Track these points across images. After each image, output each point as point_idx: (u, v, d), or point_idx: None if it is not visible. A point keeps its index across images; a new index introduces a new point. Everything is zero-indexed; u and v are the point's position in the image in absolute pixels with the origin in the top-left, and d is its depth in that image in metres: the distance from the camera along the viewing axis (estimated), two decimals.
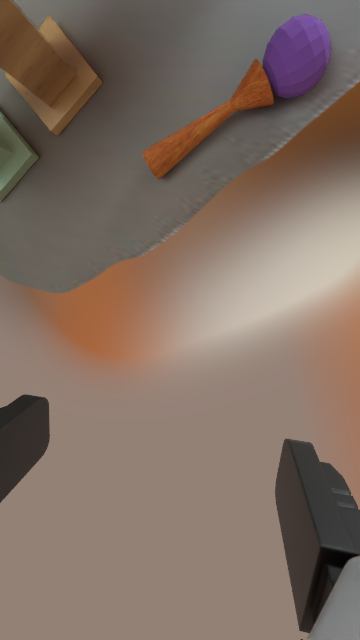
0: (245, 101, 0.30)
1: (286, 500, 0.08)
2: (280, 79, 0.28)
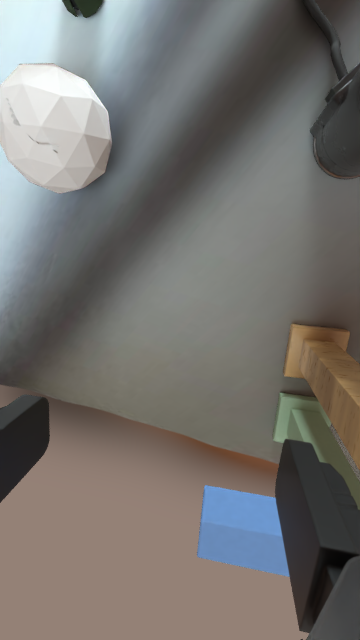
0: None
1: (286, 500, 0.08)
2: None
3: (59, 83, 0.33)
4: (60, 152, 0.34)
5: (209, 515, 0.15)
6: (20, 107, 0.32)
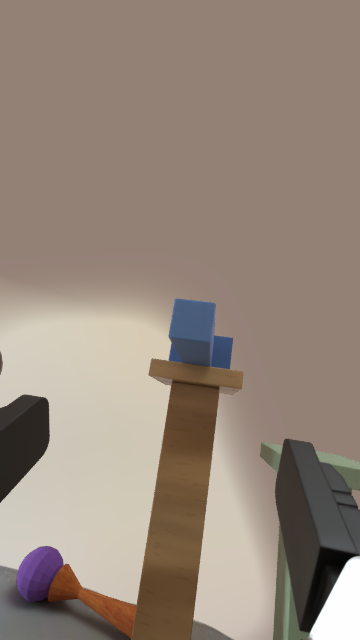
0: (77, 580, 0.42)
1: (286, 500, 0.08)
2: (62, 562, 0.43)
3: None
4: None
5: None
6: None
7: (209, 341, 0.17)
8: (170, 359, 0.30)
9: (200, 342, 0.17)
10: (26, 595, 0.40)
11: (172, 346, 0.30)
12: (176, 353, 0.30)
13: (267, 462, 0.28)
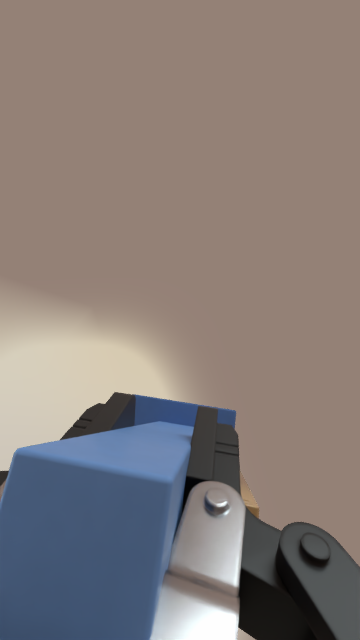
0: None
1: None
2: None
3: None
4: None
5: None
6: None
7: None
8: None
9: None
10: None
11: None
12: None
13: None
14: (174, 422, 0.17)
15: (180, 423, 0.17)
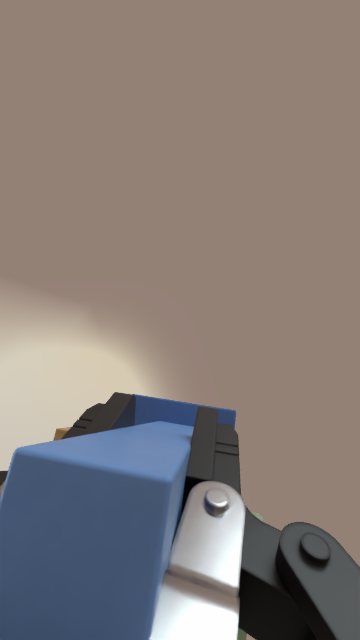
0: None
1: None
2: None
3: None
4: None
5: None
6: None
7: None
8: None
9: None
10: None
11: None
12: None
13: None
14: (174, 422, 0.17)
15: (180, 423, 0.17)
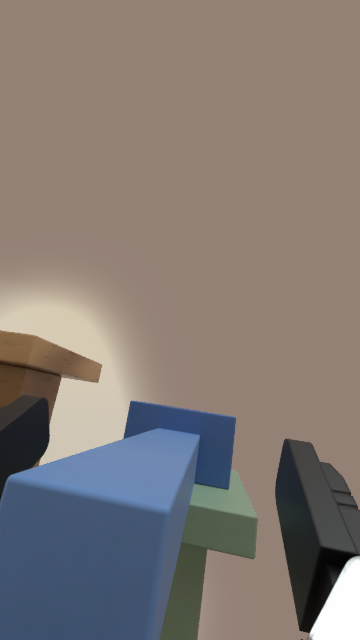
0: None
1: (286, 500, 0.08)
2: None
3: None
4: None
5: None
6: None
7: None
8: None
9: None
10: None
11: (127, 431, 0.17)
12: None
13: None
14: (173, 429, 0.17)
15: (179, 430, 0.17)
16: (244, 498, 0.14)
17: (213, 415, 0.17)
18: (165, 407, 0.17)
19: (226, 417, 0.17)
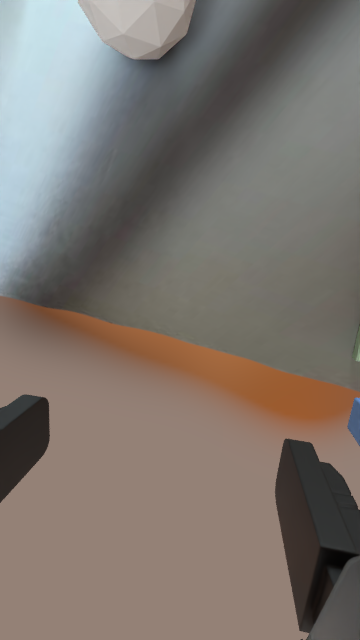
0: None
1: (286, 500, 0.08)
2: None
3: None
4: None
5: None
6: None
7: None
8: None
9: None
10: None
11: None
12: None
13: None
14: None
15: None
16: None
17: None
18: None
19: None
